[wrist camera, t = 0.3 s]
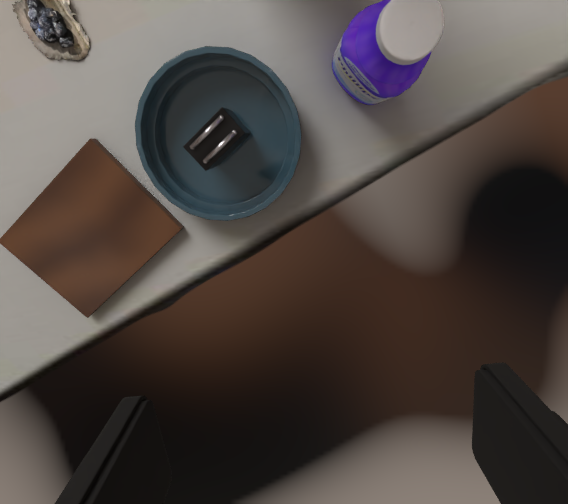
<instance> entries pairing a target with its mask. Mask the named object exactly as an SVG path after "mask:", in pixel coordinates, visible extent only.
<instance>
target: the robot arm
mask: <svg viewBox="0 0 568 504" xmlns="http://www.w3.org/2000/svg"><path fill="white" fill-rule="evenodd" d="M472 449H473V453H474V456H475V459H476V461H477V463H478V464H479V466H480V468H481V470H482V471H483V473H484V475H485V477H486V478H487V480H488V482H489V484H490V485H491V487H492V489H493V491H494V492H495V494H496V496H497V498H498V499H499V501H500V503H501V504H568V424H567V423H566V422H565V421H564V420H563V419H562V418H561V417H560V416H559V415H557V414H556V413H555V412H553V411H551V410H550V409H549V408H548V407H547V406H546V405H545V404H544V403H543V402H542V401H541V400H540V399H539V397H538V396H537V395H536V394H535V393H534V392H533V391H532V390H531V389H530V388H529V387H528V386H527V385H526V384H525V383H524V382H523V381H522V380H521V378H520V377H518V375H517V374H516V373H515V372H514V371H513V370H512V369H511V368H510V367H509V366H508V365H507V364H506V363H494V364H484V365H482V366H481V369H480V370H477V371H476V372H475V385H474V409H473V434H472ZM171 476H172V475H171V467H170V464H169V460H168V456H167V453H166V449H165V446H164V442H163V438H162V434H161V431H160V427H159V423H158V420H157V417H156V412H155V409H154V405H153V402H152V401H151V400H147V398H146V397H145V396H135V397H125V398H123V399H122V401H121V402H120V404H119V405H118V407H117V408H116V410H115V411H114V413H113V414H112V416H111V418H110V419H109V421H108V422H107V424H106V426H105V427H104V429H103V430H102V432H101V433H100V435H99V437H98V438H97V440H96V441H95V443H94V444H93V446H92V447H91V449H90V450H89V452H88V453H87V455H86V456H85V457H84V459H83V461H82V462H81V464H80V465H79V467H78V468H77V470H76V471H75V473H74V475H73V476H72V478H71V479H70V481H69V482H68V484H67V486H66V487H65V489H64V490H63V492H62V493H61V495H60V496H59V498H58V500H57V501H56V503H55V504H164V501H165V498H166V495H167V492H168V489H169V486H170V483H171Z"/></svg>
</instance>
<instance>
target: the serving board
mask: <svg viewBox="0 0 568 504" xmlns="http://www.w3.org/2000/svg"><path fill="white" fill-rule="evenodd" d="M183 227H184V226H183V225H182V224H181V223H180V222H179V221H178V220H177V219H176V218H175V217H174V216H173V215H172V214H171V213H170V212H169V211H168V210H167V209H166V208H165V207H164V206H163V205H162V204H161V203H160V202H159V201H158V200H157V199H155V198H154V197H153V196H152V195H151V194H150V193H149V192H148V191H147V190H146V189H145V188H144V187H143V186H142V185H141V184H140V183H139V182H138V181H137V180H136V179H135V178H134V177H133V176H132V175H131V174H130V173H129V172H128V171H127V170H126V169H125V168H124V167H123V166H122V165H121V164H120V163H119V162H118V161H117V160H116V159H115V158H114V157H113V156H112V155H111V154H110V153H109V152H108V151H107V150H106V149H105V148H104V147H103V146H102V145H101V144H100V143H99V142H98V141H97V140H96V139H89V141H88V142H87V143H86V144H85V145H84V146H83V147H82V148H81V149H80V151H79V152H78V153H77V154H76V155H75V156H74V157H73V158H72V159H71V161H70V162H69V163H68V164H67V165H66V166H65V167H64V168H63V169H62V171H61V172H60V173H59V174H58V175H57V176H56V177H55V178H54V179H53V181H52V182H51V183H50V184H49V185H48V186H47V187H46V188H45V189H44V191H43V192H42V193H41V194H40V195H39V196H38V197H37V198H36V199H35V201H34V202H33V203H32V204H31V205H30V206H29V207H28V208H27V209H26V211H25V212H24V213H23V214H22V215H21V216H20V217H19V218H18V219H17V221H16V222H15V223H14V224H13V225H12V226H11V227H10V228H9V230H8V231H7V232H6V233H5V234H4V235H3V236H2V237H1V238H0V244H2V245H3V246H4V247H5V248H6V249H7V250H9V251H10V252H11V253H12V254H13V255H14V256H16V257H17V258H18V259H19V260H20V261H21V262H23V263H24V264H25V265H26V266H27V267H28V268H30V269H31V270H32V271H33V272H34V273H35V274H37V275H38V276H39V277H40V278H41V279H43V280H44V281H45V282H46V283H47V284H48V285H50V286H51V287H52V288H53V289H54V290H55V291H57V292H58V293H59V294H60V295H61V296H62V297H64V298H65V299H66V300H67V301H68V302H69V303H71V304H72V305H73V306H74V307H75V308H76V309H78V310H79V311H80V312H81V313H82V314H83V315H85V316H86V317H87V318H88V317H89V316H90V315H91V314H92V313H94V312H95V311H96V310H97V309H98V308H99V307H100V306H101V305H102V304H103V303H104V302H105V301H106V300H107V299H108V298H109V297H110V296H112V295H113V294H114V293H115V292H116V291H117V290H118V289H119V288H120V287H121V286H122V285H123V284H124V283H125V282H126V281H127V280H128V279H129V278H131V277H132V276H133V275H134V274H135V273H136V272H137V271H138V270H139V269H140V268H141V267H142V266H143V265H144V264H145V263H146V262H147V261H148V260H150V259H151V258H152V257H153V256H154V255H155V254H156V253H157V252H158V251H159V250H160V249H161V248H162V247H163V246H164V245H165V244H166V243H167V242H169V241H170V240H171V239H172V238H173V237H174V236H175V235H176V234H177V233H178V232H179V231H180V230H181V229H182V228H183Z"/></svg>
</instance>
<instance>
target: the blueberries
mask: <svg viewBox="0 0 568 504" xmlns="http://www.w3.org/2000/svg"><path fill="white" fill-rule="evenodd" d="M15 3H16V4H14V5H13V4H12V5H13V7H14V9H13V11H14V12H15V13H17V19H18V20H19V24H20V25H21V27H22V28H23V31H24V32H26V33H27V34H28V36H30V37H28V38H29V39H30V40H32V41H33V44H34V45H35V47H36V48H37V49H38V50H40V51H42V53H44V54H45V55H46V56H47V58H56V59H57V60H58V59H61V57H62V58H65V60H66V59H67V58H68V59H71V60H72V59H74V60H76V61H77V60H80V59H84V58H85V56H86V55H88V54H87V53H88V52H87V51H88V50H89V48H90V45H89V38H88V36H86V35H84V33H85V32H83V28H82V27H81V26H82V25H81V24H79V23H78V22H76V21H75V20H74V18H73V17H72V15H77V14H74V13H71V10H69V9H70V8H69V6H68V5H70V1H69V0H68V1H66V0H21V2H15ZM34 35H35V36H34Z"/></svg>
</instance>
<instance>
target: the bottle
mask: <svg viewBox="0 0 568 504" xmlns="http://www.w3.org/2000/svg"><path fill="white" fill-rule="evenodd" d="M443 29H444V13H443V9H442V7H441V5H440V3H439V1H438V0H383V1H381V2H379V3H375V4H373V5H370V6H368V7H366V8H365V9H364V10H363V11H361V12H359V13H358V14H357V15H356V16H355V17H354V18H353V20H352V21H351V22H350V24H349V25H348V28H347V29H346V31H345V32H344V34H343V36H342V38H341V40H340V42H339V44H338V46H337V48H336V50H335V52H334V55H333V60H332V69H333V73H334V75H335V77H336V79H337V81H338V82H339V84H340V85H341V86H342V88H343V89H344V90H345V91H346V92H347V93H348V94H349V95H350V96H351V97H353V98H354V99H355V100H357V101H358V102H360V103H363V104H366V105H375V104H377V103H380V102H383V101H385V100H388V99H391V98H393V97H396V96H398V95H400V94H401V93H403V92H404V91H405V90H407V89H408V88H410V86H411V85H412V84H413V83H414V82H415V81H416V80H417V79H418V77H419V75H420V74H421V71H422V69H423V68H424V66H425V65H426V63H427V61H428V59H429V57H430V54H431V51H432V50H433V49H434V48H435V47H436V45H437V44H438V42H439V40H440V38H441V36H442V33H443Z"/></svg>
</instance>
